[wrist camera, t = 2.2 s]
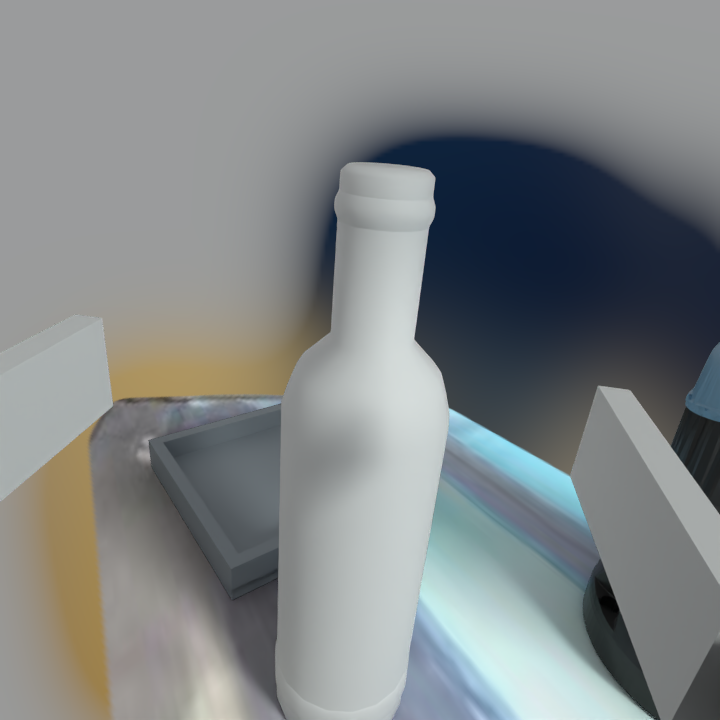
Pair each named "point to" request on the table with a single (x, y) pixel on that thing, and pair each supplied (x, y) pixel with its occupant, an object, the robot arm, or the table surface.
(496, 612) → the table surface
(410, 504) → the bottle
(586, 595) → the robot arm
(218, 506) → the tray
